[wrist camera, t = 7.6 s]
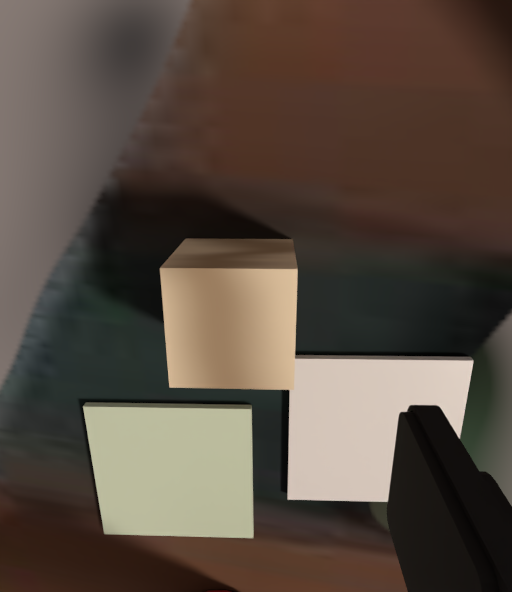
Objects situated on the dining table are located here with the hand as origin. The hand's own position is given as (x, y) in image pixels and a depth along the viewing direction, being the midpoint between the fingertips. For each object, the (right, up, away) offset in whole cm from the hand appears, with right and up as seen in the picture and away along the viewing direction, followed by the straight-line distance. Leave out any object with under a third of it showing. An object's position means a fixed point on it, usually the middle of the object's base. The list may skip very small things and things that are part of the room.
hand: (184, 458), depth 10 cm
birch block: (+1, +4, +12) cm, 13 cm away
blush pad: (+8, -4, +14) cm, 17 cm away
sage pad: (-3, -7, +16) cm, 17 cm away
